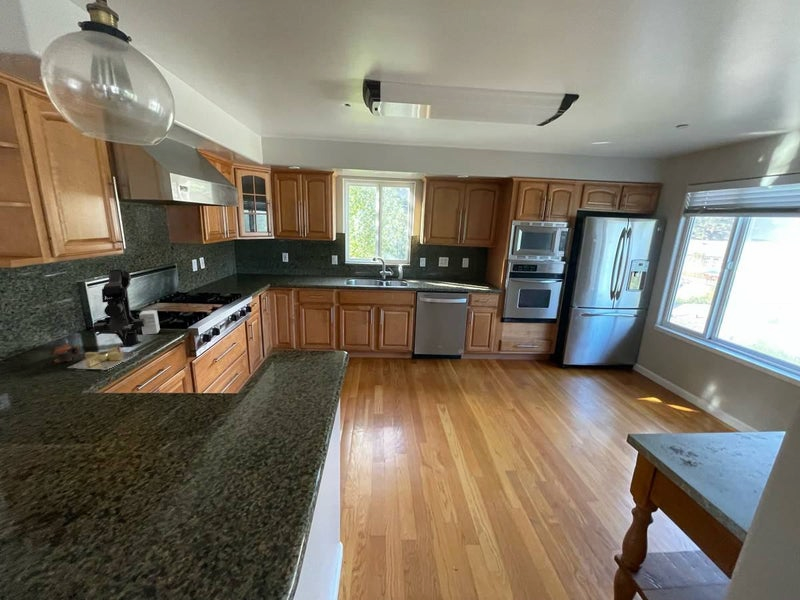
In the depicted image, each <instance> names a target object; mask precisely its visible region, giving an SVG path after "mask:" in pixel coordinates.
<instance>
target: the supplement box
mask: <svg viewBox="0 0 800 600" xmlns="http://www.w3.org/2000/svg"><path fill="white" fill-rule="evenodd" d="M138 315H139V319H145V325H144V326H143V327H140V329H141V332H142V335H143V336H145V335H154V334H158V333H159V331H160V330H161V328H160V321H159V315H158V310H157V309H156V310H155V309H152V310H143V311H141V312H140V313H139V314H138Z"/></svg>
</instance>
